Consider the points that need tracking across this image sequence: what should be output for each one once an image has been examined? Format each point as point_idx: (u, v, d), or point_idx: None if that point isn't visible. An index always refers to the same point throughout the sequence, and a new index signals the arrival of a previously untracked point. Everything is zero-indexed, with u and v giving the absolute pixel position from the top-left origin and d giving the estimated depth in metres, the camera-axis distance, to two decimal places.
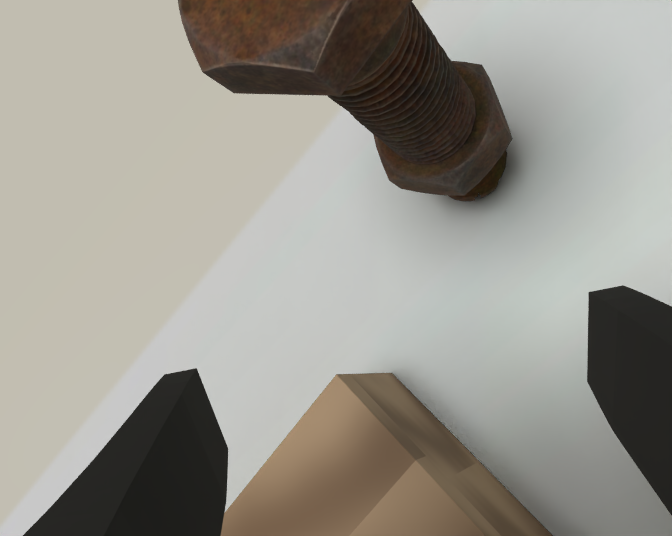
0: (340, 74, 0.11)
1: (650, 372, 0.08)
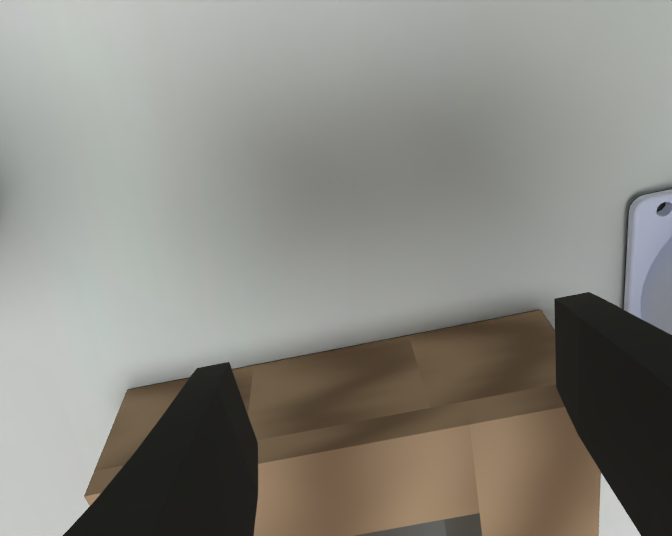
0: None
1: (610, 380, 0.08)
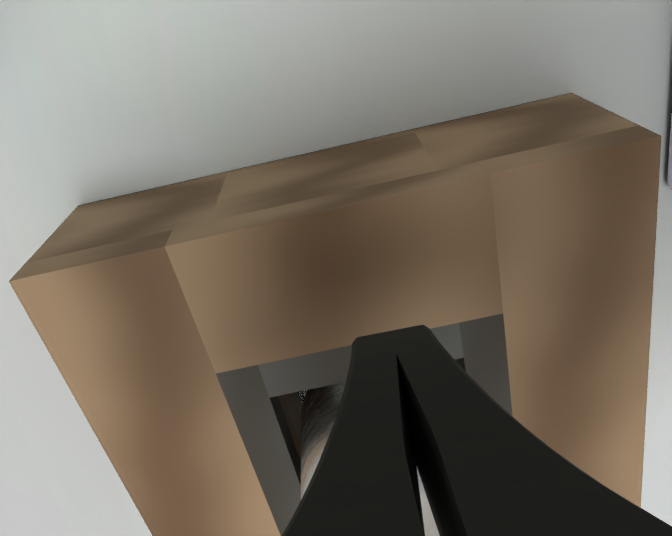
0: None
1: (415, 416, 0.09)
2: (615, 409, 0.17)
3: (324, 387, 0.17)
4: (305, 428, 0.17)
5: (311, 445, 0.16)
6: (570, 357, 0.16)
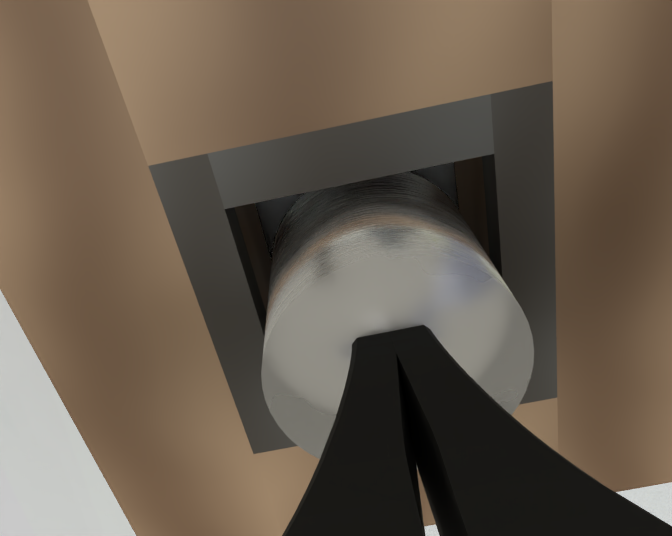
0: None
1: (415, 416, 0.09)
2: None
3: (302, 207, 0.13)
4: (274, 258, 0.13)
5: (281, 265, 0.12)
6: (639, 160, 0.12)
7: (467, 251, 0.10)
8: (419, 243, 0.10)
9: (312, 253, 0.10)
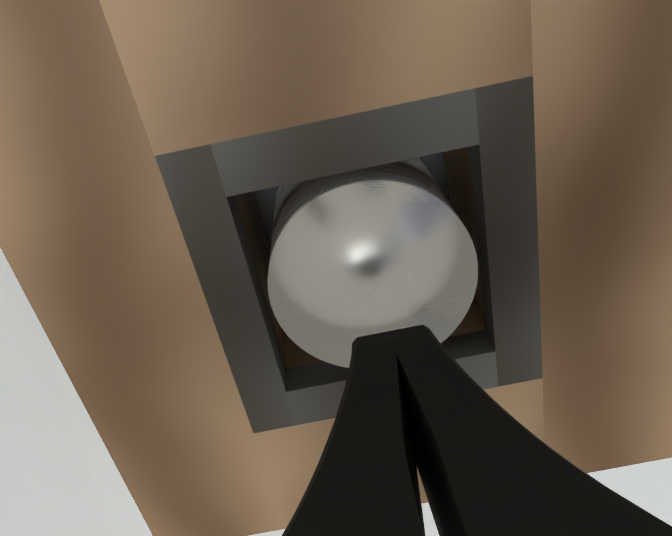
0: None
1: (415, 416, 0.09)
2: (667, 233, 0.14)
3: None
4: (277, 203, 0.16)
5: (282, 204, 0.15)
6: (615, 150, 0.13)
7: (425, 186, 0.13)
8: (387, 178, 0.13)
9: (307, 189, 0.14)
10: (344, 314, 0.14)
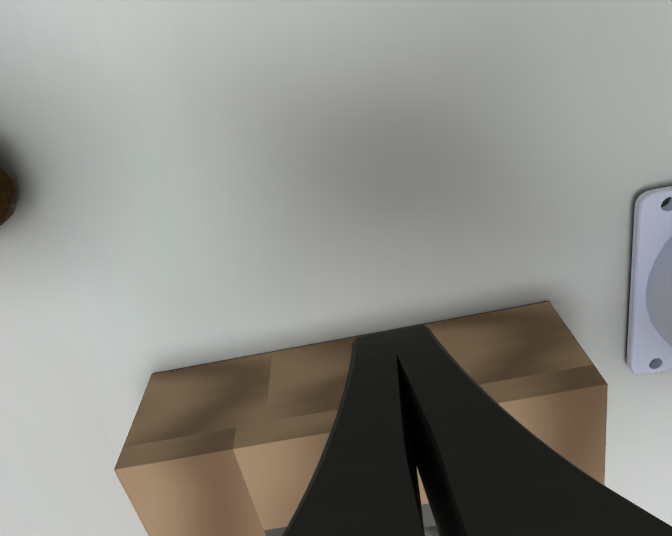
0: None
1: (415, 416, 0.09)
2: None
3: None
4: None
5: None
6: None
7: (425, 531, 0.21)
8: None
9: None
10: None
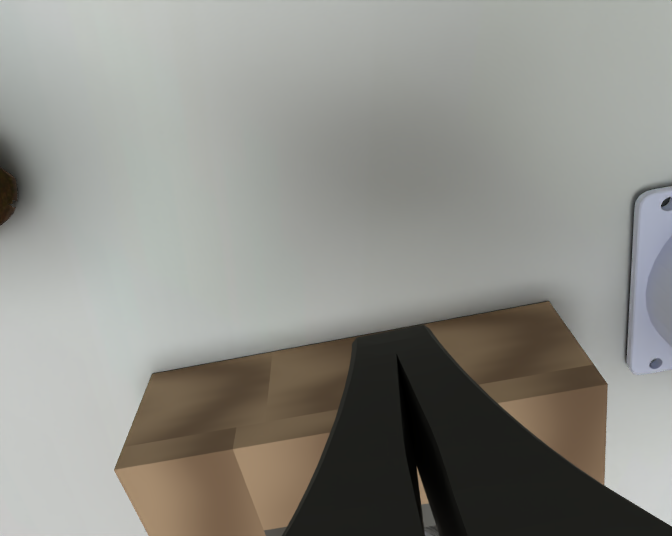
0: None
1: (415, 416, 0.09)
2: None
3: None
4: None
5: None
6: None
7: (425, 531, 0.21)
8: None
9: None
10: None
